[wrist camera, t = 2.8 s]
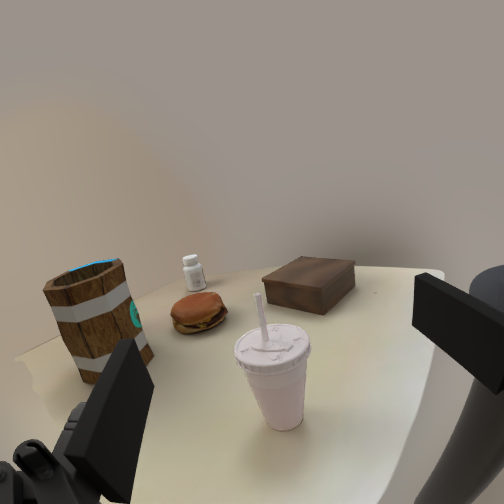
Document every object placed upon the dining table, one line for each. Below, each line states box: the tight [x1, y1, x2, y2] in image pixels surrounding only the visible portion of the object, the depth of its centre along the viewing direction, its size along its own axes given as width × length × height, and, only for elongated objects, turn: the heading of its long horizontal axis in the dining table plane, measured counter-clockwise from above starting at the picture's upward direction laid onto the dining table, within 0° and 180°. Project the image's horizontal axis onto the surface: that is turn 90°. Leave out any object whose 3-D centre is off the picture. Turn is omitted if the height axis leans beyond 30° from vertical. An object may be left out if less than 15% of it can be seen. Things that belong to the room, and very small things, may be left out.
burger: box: [171, 292, 228, 333], centre depth 49 cm, size 10×9×5 cm
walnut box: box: [262, 256, 355, 315], centre depth 52 cm, size 12×12×5 cm
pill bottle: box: [183, 255, 206, 291], centre depth 66 cm, size 4×4×8 cm
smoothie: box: [234, 292, 311, 431], centre depth 24 cm, size 6×6×14 cm
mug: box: [43, 258, 154, 385], centre depth 41 cm, size 20×14×15 cm
